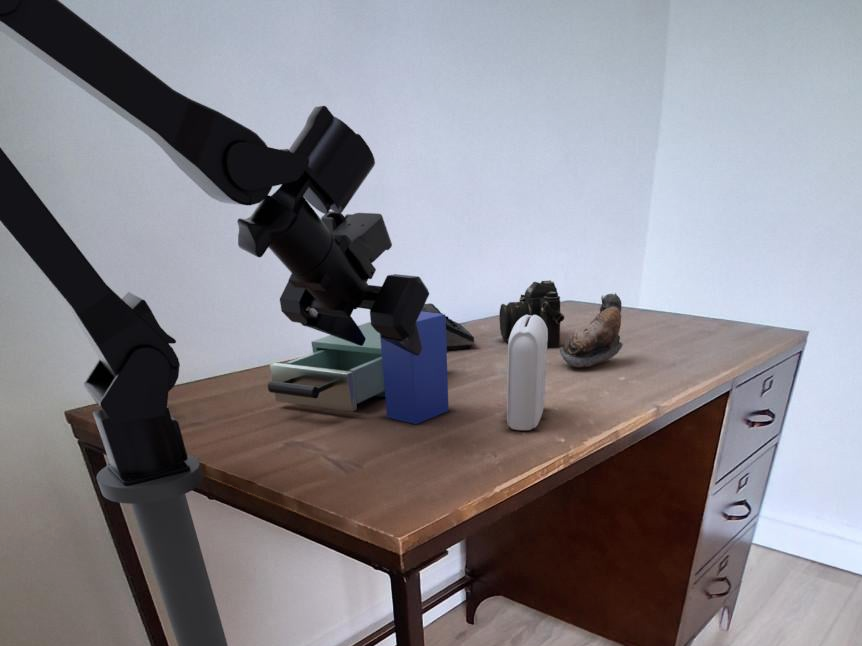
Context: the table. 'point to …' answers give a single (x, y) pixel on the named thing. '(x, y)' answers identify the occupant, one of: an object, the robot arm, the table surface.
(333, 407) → the drawer
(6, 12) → the robot arm
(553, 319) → the film camera
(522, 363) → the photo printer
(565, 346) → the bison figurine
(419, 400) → the carton
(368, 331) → the cabinet
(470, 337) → the electronic device
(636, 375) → the table surface
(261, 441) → the table surface
